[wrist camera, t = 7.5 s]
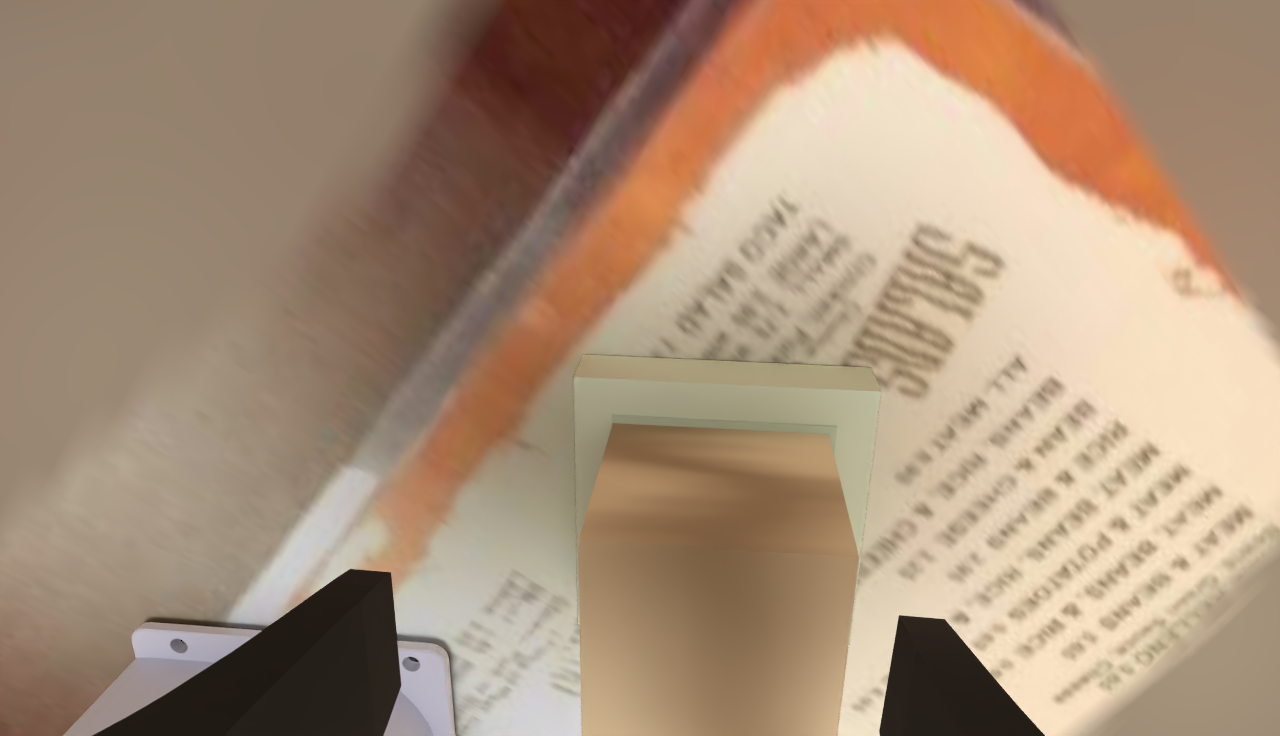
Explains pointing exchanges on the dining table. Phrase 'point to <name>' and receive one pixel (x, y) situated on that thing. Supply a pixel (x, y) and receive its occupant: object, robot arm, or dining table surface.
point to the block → (715, 585)
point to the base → (727, 412)
